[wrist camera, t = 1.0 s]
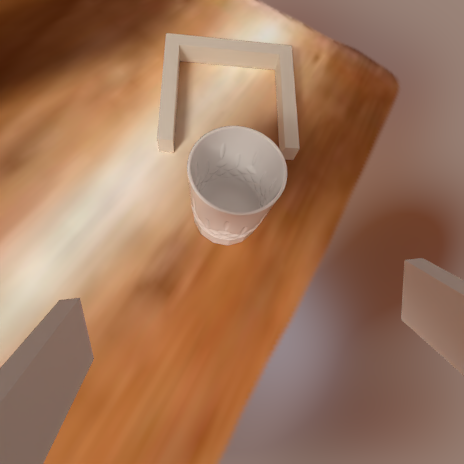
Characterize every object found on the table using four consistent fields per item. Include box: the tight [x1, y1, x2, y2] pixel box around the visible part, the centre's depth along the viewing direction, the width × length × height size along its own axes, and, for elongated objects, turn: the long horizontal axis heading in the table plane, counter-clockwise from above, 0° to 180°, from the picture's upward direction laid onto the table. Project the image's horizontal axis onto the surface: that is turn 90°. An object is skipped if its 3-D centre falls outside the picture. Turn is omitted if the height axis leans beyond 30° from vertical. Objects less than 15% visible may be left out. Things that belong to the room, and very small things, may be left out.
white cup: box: [187, 126, 287, 245], centre depth 31 cm, size 8×8×10 cm
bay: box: [157, 33, 300, 160], centre depth 39 cm, size 15×15×2 cm
